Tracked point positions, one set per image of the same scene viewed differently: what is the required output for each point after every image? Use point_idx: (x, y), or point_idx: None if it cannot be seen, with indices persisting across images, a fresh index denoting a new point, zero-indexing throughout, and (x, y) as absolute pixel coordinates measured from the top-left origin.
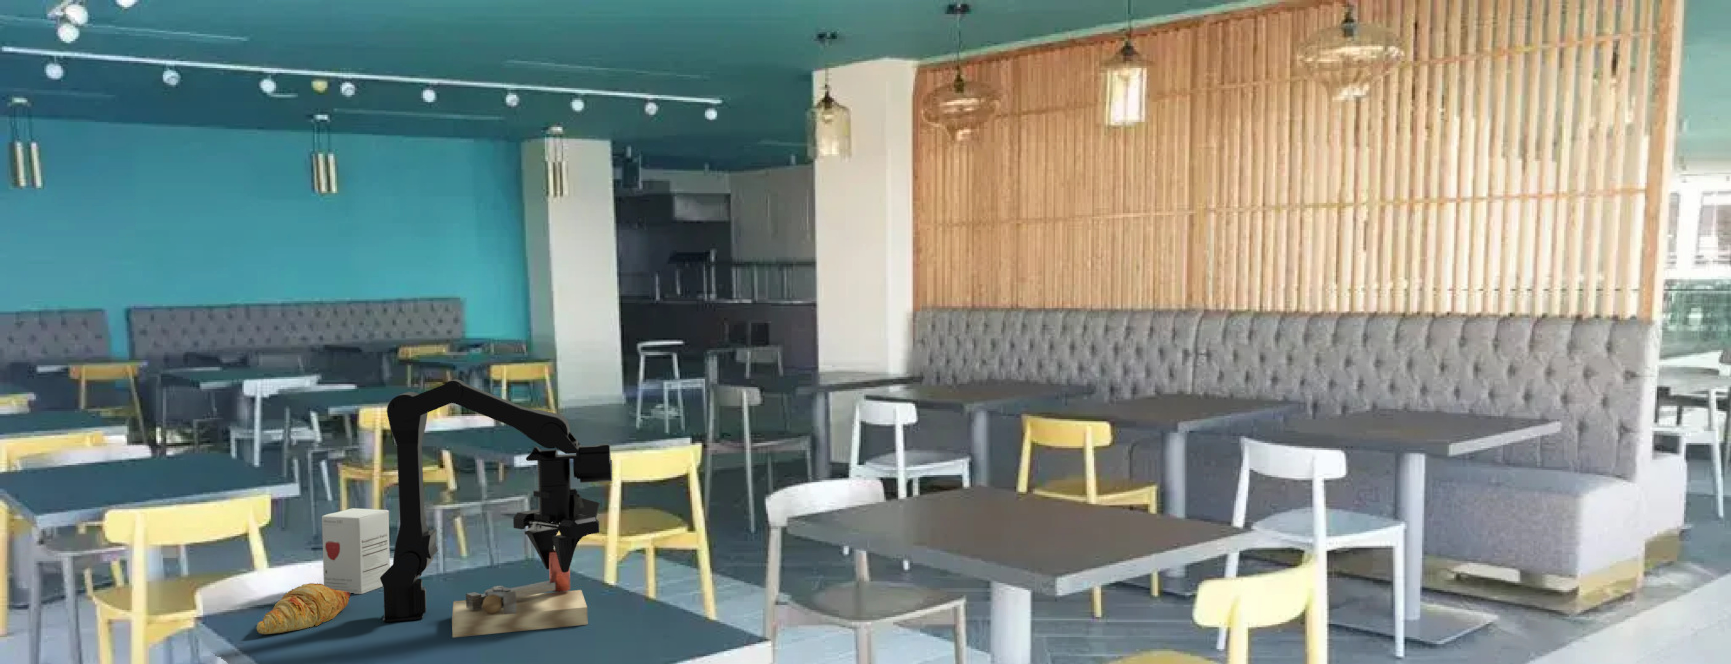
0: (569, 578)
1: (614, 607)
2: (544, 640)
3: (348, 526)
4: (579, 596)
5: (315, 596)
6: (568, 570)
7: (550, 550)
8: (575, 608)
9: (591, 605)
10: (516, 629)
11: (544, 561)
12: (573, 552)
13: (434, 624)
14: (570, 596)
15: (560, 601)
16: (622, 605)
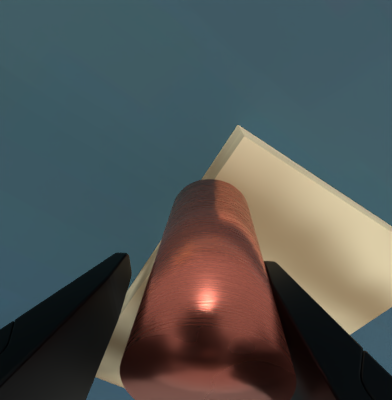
0: (249, 218)
1: (362, 54)
2: (387, 340)
3: None
4: (320, 203)
5: None
6: (276, 262)
7: (140, 397)
8: None
9: (259, 94)
10: None
11: (116, 321)
12: (372, 362)
13: None
14: (288, 220)
15: (307, 270)
16: (375, 6)
